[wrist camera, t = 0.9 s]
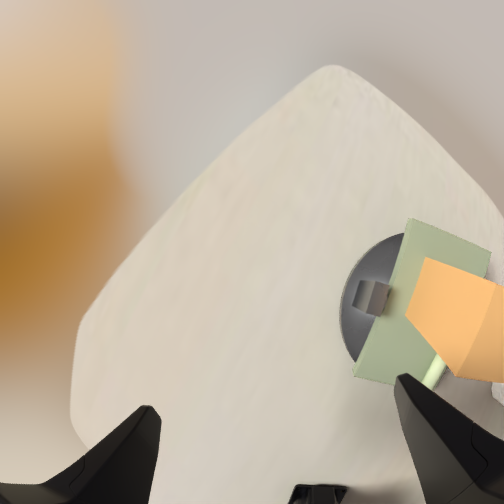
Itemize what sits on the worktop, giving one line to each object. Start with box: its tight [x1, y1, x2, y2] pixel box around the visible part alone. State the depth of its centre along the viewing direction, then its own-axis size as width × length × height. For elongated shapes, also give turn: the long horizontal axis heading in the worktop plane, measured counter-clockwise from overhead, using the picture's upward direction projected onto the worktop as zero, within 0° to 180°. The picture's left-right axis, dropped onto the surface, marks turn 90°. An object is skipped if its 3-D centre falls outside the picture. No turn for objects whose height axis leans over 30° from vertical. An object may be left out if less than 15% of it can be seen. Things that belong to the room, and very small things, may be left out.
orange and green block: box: [353, 219, 504, 391], centre depth 15 cm, size 14×10×11 cm
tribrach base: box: [340, 233, 404, 363], centre depth 20 cm, size 15×15×6 cm
